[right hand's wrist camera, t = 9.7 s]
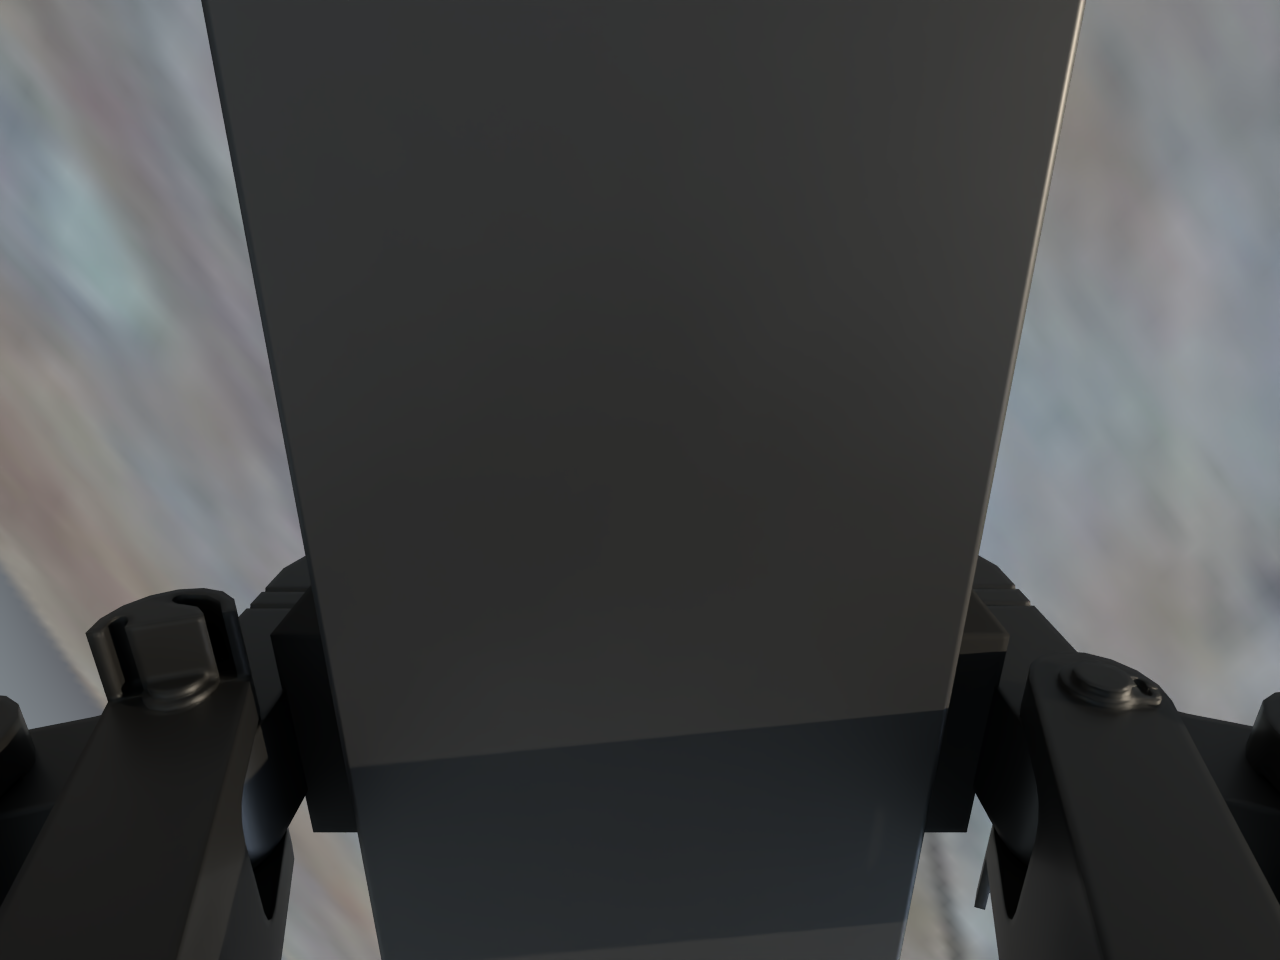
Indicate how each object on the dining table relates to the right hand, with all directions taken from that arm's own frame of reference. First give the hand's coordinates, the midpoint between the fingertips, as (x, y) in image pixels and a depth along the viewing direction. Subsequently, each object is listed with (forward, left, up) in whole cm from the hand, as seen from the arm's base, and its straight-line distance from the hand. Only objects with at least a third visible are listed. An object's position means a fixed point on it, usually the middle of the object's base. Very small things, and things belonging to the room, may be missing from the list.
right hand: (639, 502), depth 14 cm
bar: (+7, +7, -1) cm, 10 cm away
